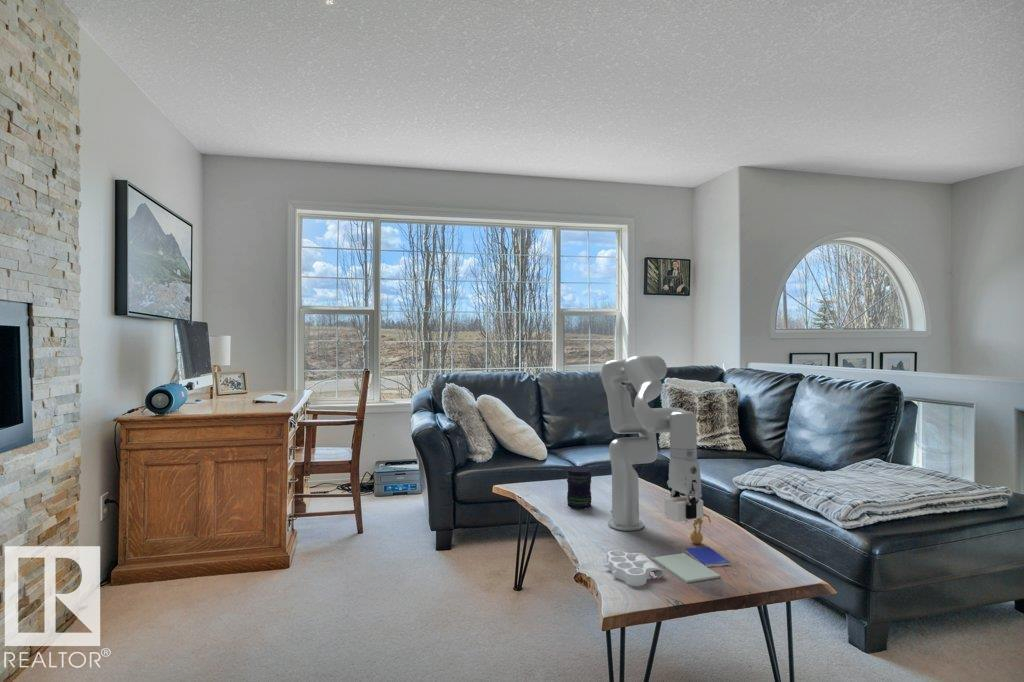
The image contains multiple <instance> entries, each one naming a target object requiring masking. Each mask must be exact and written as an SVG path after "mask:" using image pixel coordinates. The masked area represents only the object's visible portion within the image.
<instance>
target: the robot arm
mask: <svg viewBox="0 0 1024 682" xmlns="http://www.w3.org/2000/svg"><path fill="white" fill-rule="evenodd" d="M667 372H668V366H667V364H666V362H665V360H664V359H663V358H662V357H661V356H658V355H634V356H631V357H628V358H627V359H624V358H622V359H621V358H620V359H612V360H608V361H606V362H605V363H603V365H602V368H601V372H600V376H601V383H602V385H603V389H604V392H605V394H606V398H607V407H608V414H609V416H608V417H609V422H610V423H609V424H610V429H611V430H612V432H613V433H615V434H617V435H619V434H622V435H623V434H624V435H625V434H626V435H627V434H629V435H630V434H638V436H634V437H633V436H630V437H629V436H628V437H618V438H615V439H613V440H612V441H611V442H610V443H609V447H608V454H609V459H610V467H611V509H610V511H609V512H610V514H611V518H610V519H608V520H607V525H608V527H610V528H612V529H614V530H618V531H624V532H625V531H627V532H629V531H631V532H632V531H633V532H634V531H638V530H642V529H643V528H644V527H645V526H644V521H642V520H641V519H640V489H639V488H640V482H639V481H640V479H639V475H638V472H637V471H636V470H635V469H634V467H633V465H637V464H638V465H639V464H650V463H653V462H655V461H656V460H657V458H658V454H659V453H658V442H657V434H662V433H669V463H668V480H667V482H666V485H667V486H668V487H667V488H668V491H669V492H670V498H673V497H680V496H682V494H683V495H684V496H686V500H687V504H688V505H686V518H687V519H692V520H694V519H693V518H696V517H697V509H696V505H697V504H698V501H699V499H701V498H702V497H703V494H702V481H701V476H702V475H701V469H700V463H699V460H698V455H697V454H698V450H697V449H698V448H697V442H698V441H697V436H698V435H697V414H696V413H695V412H694V411H690V410H685V409H683V408H681V407H655V408H654V407H653V408H652V407H650V406H649V404H648V403H649V402H651V401H653V400H655V399H656V398H657V397H658V398H659V396H660V394H661V393H662V392H663V388H664V386H663V383H662V381H661V380H663V379H665V377H666V375H667ZM623 383H630V384H631V385H632V386H633V388H634V390H635V392H636V393H637V394H636V396H635V397H634V398H635V399H634V404H633V405H632V396H631V393H630V392H629V390H628V389H627V388H626V387H625V385H623ZM633 406H634V407H633ZM690 496H692V498H691V500H690Z"/></svg>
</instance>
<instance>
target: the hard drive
mask: <svg viewBox="0 0 1024 682" xmlns="http://www.w3.org/2000/svg"><path fill="white" fill-rule="evenodd" d="M685 552H686V554H687V553H689V554H690V557H691V558H693V559H694V558H695V559H694V560H696V561H698V562H699V563H701V564H703V565H704V566H706V567H707V568H712V567H711V566H715V567H724V566H723V565H729V566H731V565H732V564H731V562H730V561H729V560H728V559H726V558H725V557H724V556H722V555H721V554H719V553H718V552H717V551H715V550H714V549H713V548H711V547H710V546H699V547H697V546H696V547H686V548H685ZM689 554H688V555H689Z"/></svg>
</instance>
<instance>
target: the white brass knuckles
mask: <svg viewBox="0 0 1024 682" xmlns="http://www.w3.org/2000/svg"><path fill="white" fill-rule="evenodd" d="M603 566H604V567H605V568H607V569H608V568H609V569H608V572H609V571H611V572H612V573H611V572H610V573H611V575H613V577H614V576H615V577H614V578H616V579H617V578H618V580H620V581H623V582H625V584H626V585H628V586H633V587H641V585H642V586H644V584H645V585H646V584H647V581H648V580H651V578H653V580H655V578H654V577H653V576H651V575H650V572H654V574H655V576H657V577H656V578H657V579H660V578H662V577H663V576H665V575H664V573H665V572H664V570H663V568H661V567H659V566H658V565H657V564H656V562H654V561H652V560H651V559H649V558H648V557H647V555H645V554H644V553H642V552H631V553H629V552H626V551H623V550H615V549H614V550H610V551H608V552H607V553H606V563H605V564H603ZM647 579H648V580H647Z"/></svg>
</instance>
